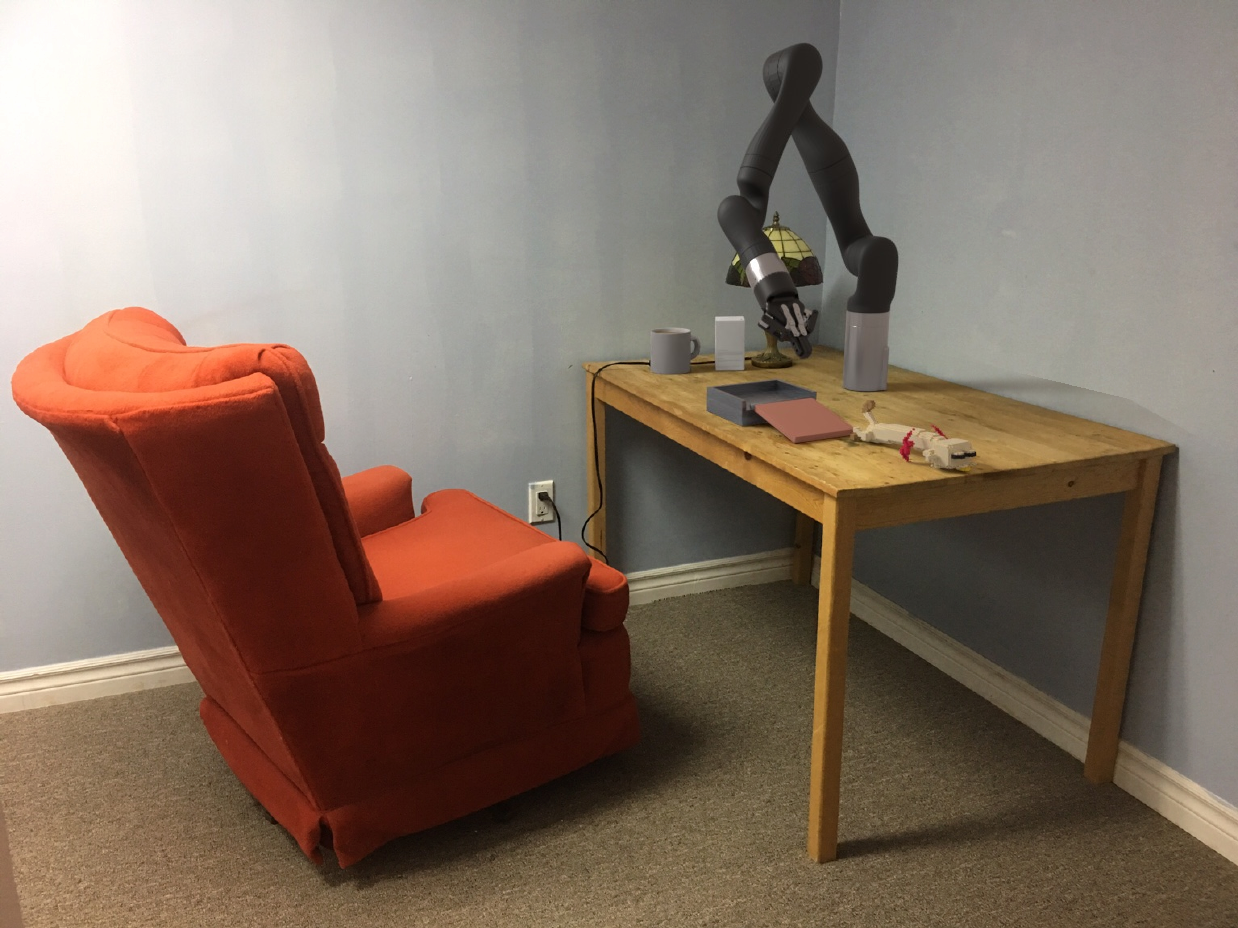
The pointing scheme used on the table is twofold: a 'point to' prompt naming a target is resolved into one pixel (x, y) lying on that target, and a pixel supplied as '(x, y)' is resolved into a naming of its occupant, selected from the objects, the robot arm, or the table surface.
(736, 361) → the supplement box
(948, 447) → the cream blocky figure
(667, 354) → the coffee mug
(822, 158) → the robot arm
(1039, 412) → the table surface
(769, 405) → the flat pink square board
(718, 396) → the grey open box
